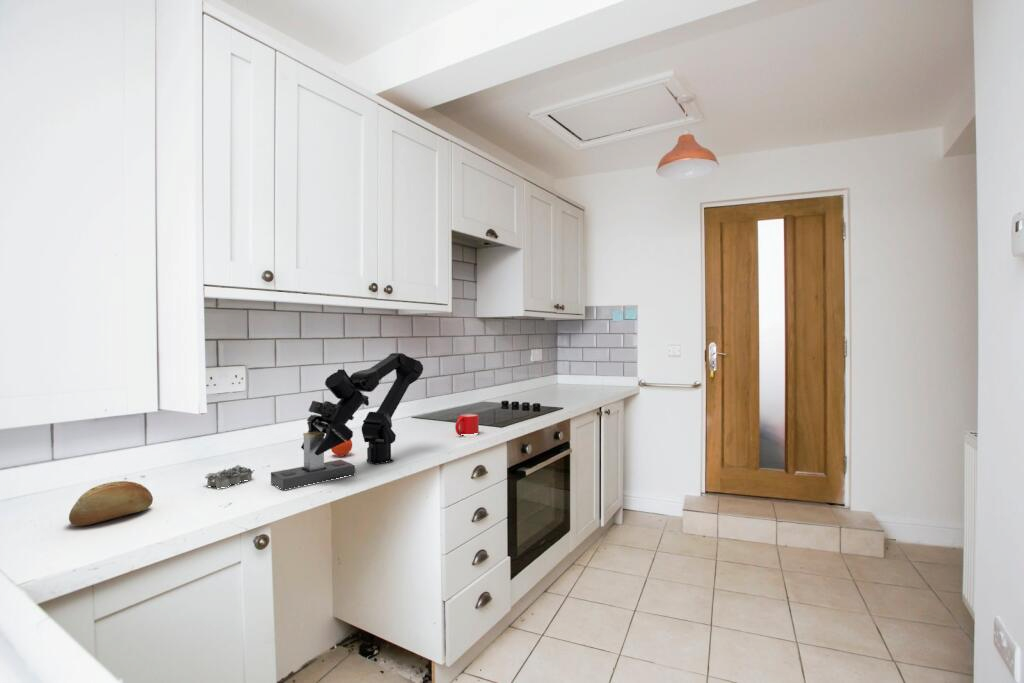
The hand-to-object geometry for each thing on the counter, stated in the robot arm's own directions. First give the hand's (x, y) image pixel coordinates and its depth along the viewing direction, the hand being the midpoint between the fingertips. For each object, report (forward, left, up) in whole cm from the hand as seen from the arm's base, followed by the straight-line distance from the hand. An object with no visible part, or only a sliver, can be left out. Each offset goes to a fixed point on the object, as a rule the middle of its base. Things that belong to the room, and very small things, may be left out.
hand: (308, 451), depth 139 cm
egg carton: (+17, -12, -9) cm, 23 cm away
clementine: (-18, -22, -8) cm, 30 cm away
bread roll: (+43, 0, -8) cm, 43 cm away
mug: (-69, -21, -8) cm, 73 cm away
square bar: (-1, 0, -8) cm, 8 cm away
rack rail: (-1, 0, -8) cm, 8 cm away
